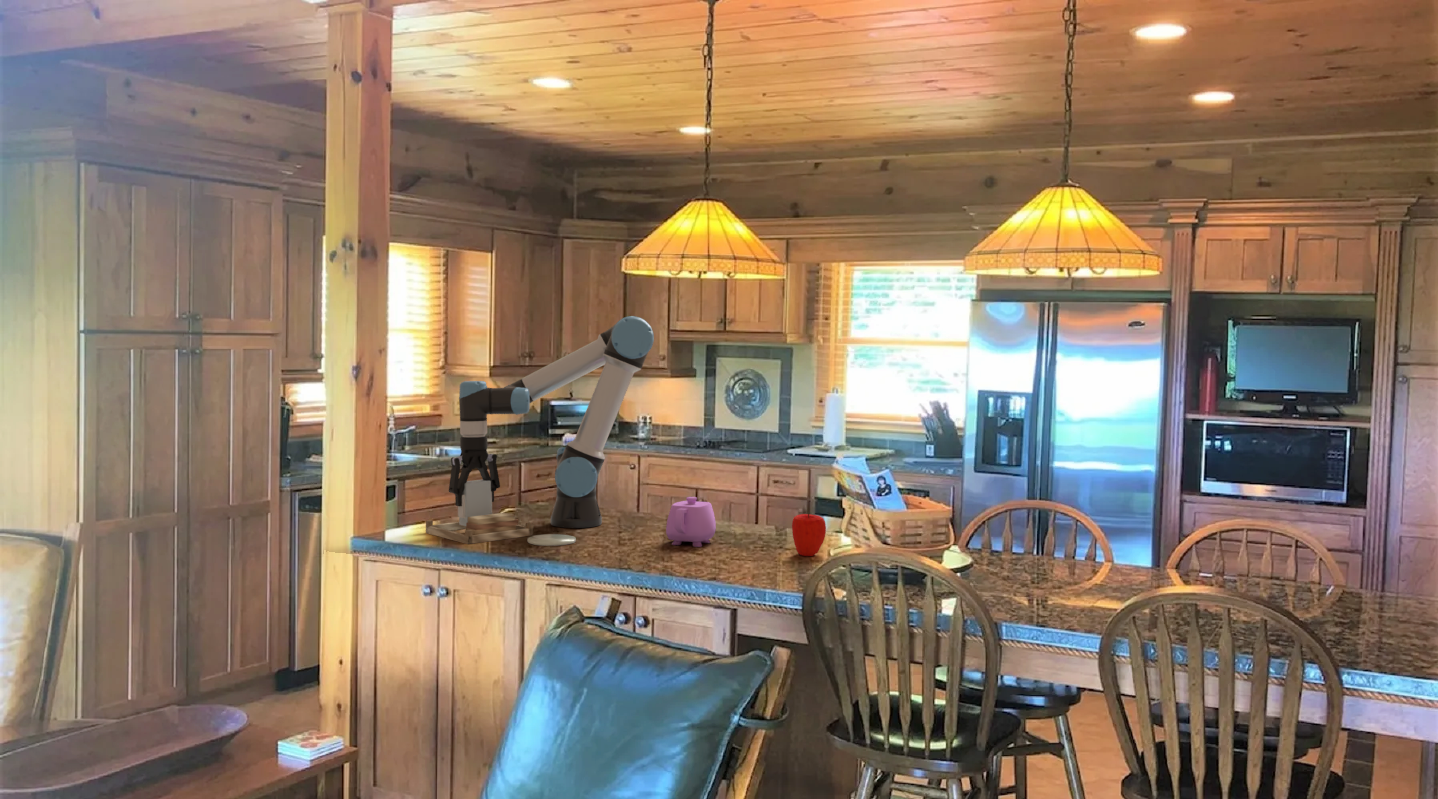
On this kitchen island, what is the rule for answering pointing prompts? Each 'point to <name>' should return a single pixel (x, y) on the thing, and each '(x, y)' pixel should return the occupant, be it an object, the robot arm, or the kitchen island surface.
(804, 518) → the apple
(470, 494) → the gray rectangular block
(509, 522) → the offcut stack
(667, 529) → the teapot
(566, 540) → the plate
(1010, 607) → the kitchen island surface
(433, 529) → the rack
